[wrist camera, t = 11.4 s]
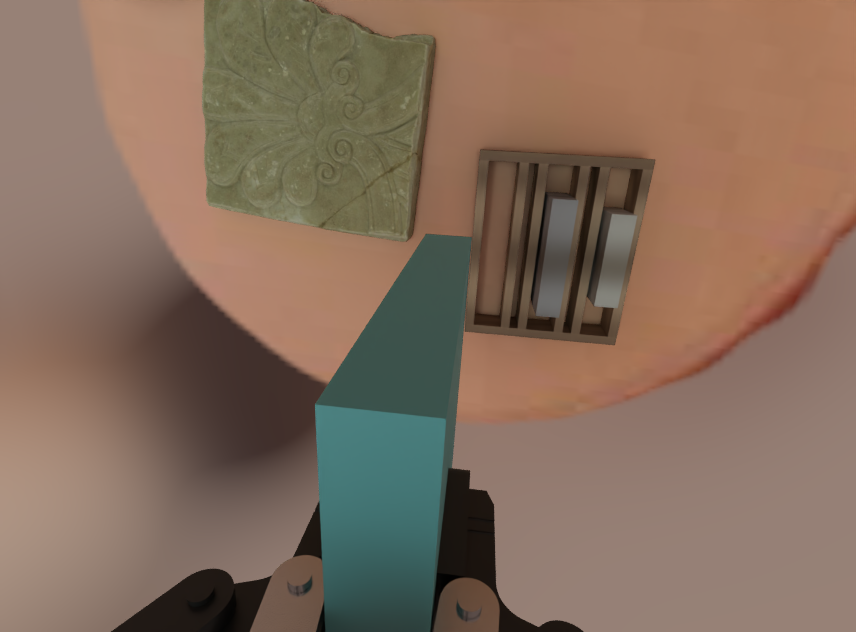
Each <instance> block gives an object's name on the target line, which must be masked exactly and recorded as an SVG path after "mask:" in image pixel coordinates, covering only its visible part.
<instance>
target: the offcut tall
mask: <svg viewBox="0 0 856 632" xmlns="http://www.w3.org/2000/svg"><path fill="white" fill-rule="evenodd" d="M578 201H579V200H577V199H575V198H574V197H572V196H570V195H569V194H567V193H559V192H545V196H544V203H543V210H542V218H541V225H540V232H539V239H538V246H537V253H536V261H535V268H534V275H533V282H532V289H531V297H530V298H531V301H532V305H533V308H534V311H535V315H536V316H544V317H555V318H559V315H560V309H561V303H562V297H563V291H564V285H565V279H566V273H567V267H568V261H569V255H570V249H571V243H572V237H573V231H574V225H575V219H576V213H577V207H578Z"/></svg>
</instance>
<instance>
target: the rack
mask: <svg viewBox="0 0 856 632" xmlns="http://www.w3.org/2000/svg"><path fill="white" fill-rule="evenodd" d="M489 161H504V162H517V170H516V179H515V187H514V196H513V205H512V214H511V222H510V231H509V240H508V248H507V257H506V266H505V274H504V283H503V292H502V300H501V309H500V316H494V315H482V314H475V304H476V293H477V282H478V272H479V261H480V250H481V239H482V229H483V218H484V207H485V197H486V186H487V175H488V164H489ZM529 163H535V170H534V178H533V186H532V193H531V201H530V209H529V217H528V224H527V232H526V240H525V248H524V255H523V263H522V271H521V279H520V286H519V294H518V302H517V310H516V317H510V316H511V308H512V300H513V292H514V284H515V276H516V268H517V260H518V252H519V244H520V236H521V228H522V220H523V212H524V204H525V196H526V188H527V180H528V171H529ZM549 164H557V165H574V168H573V175H572V181H571V187H570V194H569V195H570V196H572V197H574V198H575V199H577V200H579V201H578V207H577V213H576V219H575V225H574V231H573V237H572V243H571V249H570V255H569V261H568V267H567V273H566V279H565V285H564V291H563V297H562V303H561V309H560V315H559V318H555V317H550V320H539V319H528V311H529V304H530V297H531V289H532V282H533V275H534V268H535V261H536V253H537V246H538V239H539V232H540V225H541V218H542V210H543V203H544V196H545V189H546V182H547V174H548V167H549ZM654 164H655V160H653V159H642V158H624V157H606V156H587V155H569V154H551V153H533V152H514V151H496V150H480V159H479V170H478V182H477V193H476V205H475V217H474V228H473V240H472V251H471V263H470V275H469V286H468V298H467V309H466V321H465V332H476V333H486V334H497V335H508V336H519V337H530V338H541V339H552V340H563V341H574V342H585V343H596V344H606V345H615V342H616V338H617V333H618V328H619V324H620V319H621V315H622V310H623V306H624V301H625V297H626V292H627V287H628V283H629V278H630V274H631V269H632V265H633V260H634V255H635V251H636V246H637V242H638V237H639V233H640V228H641V224H642V219H643V214H644V210H645V205H646V201H647V196H648V192H649V187H650V182H651V178H652V173H653V169H654ZM591 166H592V171H591V177H590V183H589V189H588V195H587V200H586V206H585V212H584V218H583V224H582V229H581V235H580V241H579V247H578V253H577V258H576V264H575V270H574V276H573V282H572V287H571V293H570V299H569V305H568V311H567V316H566V322H564V319H565V313H566V308H567V302H568V296H569V290H570V284H571V278H572V272H573V267H574V261H575V255H576V249H577V243H578V237H579V232H580V226H581V220H582V214H583V208H584V202H585V196H586V191H587V185H588V179H589V173H590V167H591ZM610 168H627V169H632V170H631V175H630V180H629V185H628V190H627V195H626V200H625V205H624V210H626V211H628V212H631V213H633V214H635V215H637V220H636V225H635V229H634V234H633V239H632V243H631V248H630V253H629V257H628V262H627V267H626V271H625V276H624V281H623V285H622V290H621V295H620V299H619V304H618V308H609V307H604V309H603V313H602V318H601V323H600V325H596V324H585V323H582V318H583V313H584V307H585V302H586V296H587V291H588V286H589V280H590V275H591V270H592V264H593V259H594V253H595V248H596V243H597V237H598V232H599V227H600V221H601V216H602V211H603V205H604V200H605V194H606V189H607V184H608V178H609V173H610Z"/></svg>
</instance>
